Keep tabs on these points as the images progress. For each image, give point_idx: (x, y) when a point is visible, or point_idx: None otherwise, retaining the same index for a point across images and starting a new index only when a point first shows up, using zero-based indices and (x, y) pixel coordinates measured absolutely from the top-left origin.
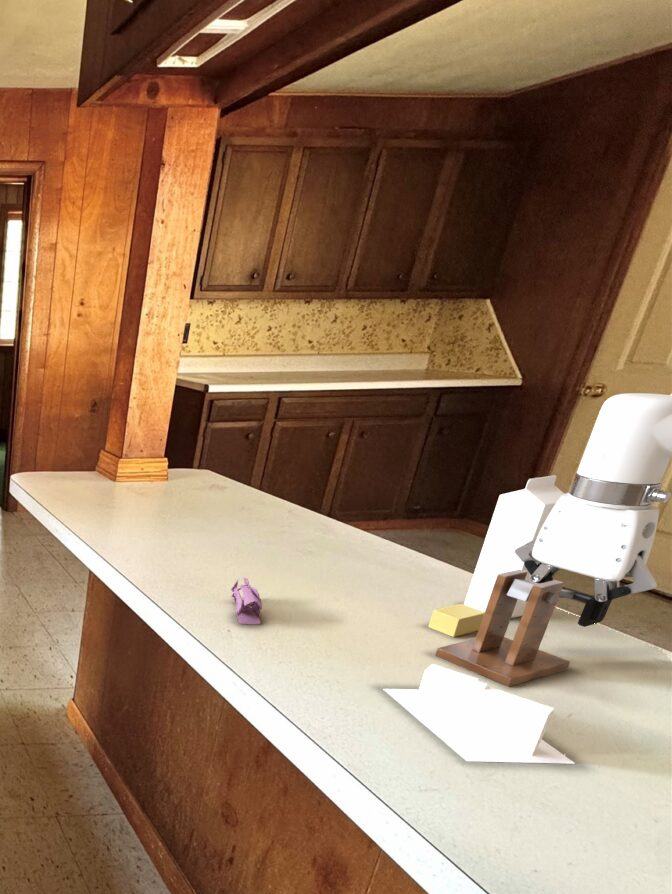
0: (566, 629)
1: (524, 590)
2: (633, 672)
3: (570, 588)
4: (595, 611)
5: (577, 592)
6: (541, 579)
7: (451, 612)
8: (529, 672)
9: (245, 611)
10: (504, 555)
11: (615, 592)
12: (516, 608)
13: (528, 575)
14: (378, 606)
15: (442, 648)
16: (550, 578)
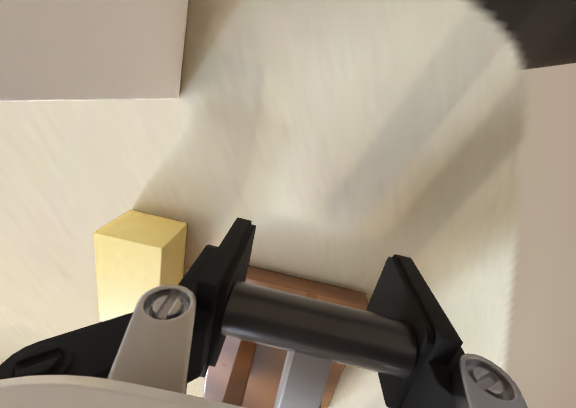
0: (304, 14)
1: None
2: (471, 207)
3: (303, 344)
4: None
5: (338, 362)
6: (186, 388)
7: (125, 307)
8: (329, 394)
9: None
10: None
11: None
12: (166, 50)
13: (47, 14)
14: (16, 254)
15: (207, 398)
16: (200, 343)
